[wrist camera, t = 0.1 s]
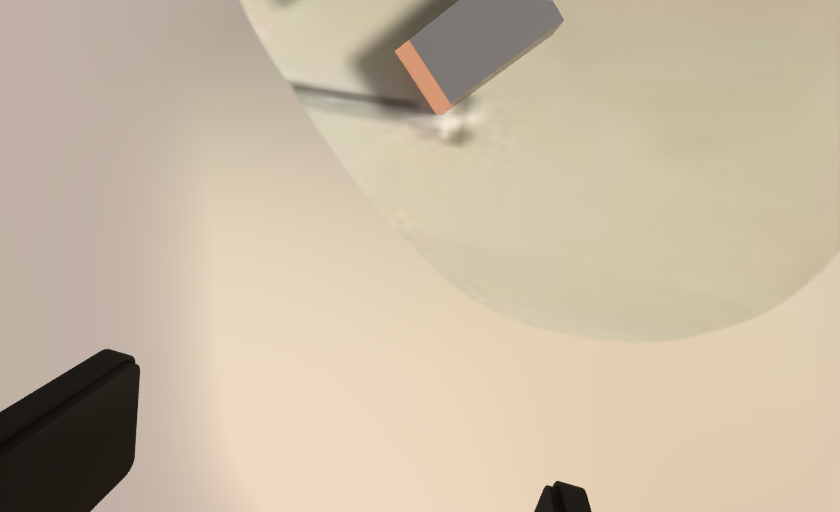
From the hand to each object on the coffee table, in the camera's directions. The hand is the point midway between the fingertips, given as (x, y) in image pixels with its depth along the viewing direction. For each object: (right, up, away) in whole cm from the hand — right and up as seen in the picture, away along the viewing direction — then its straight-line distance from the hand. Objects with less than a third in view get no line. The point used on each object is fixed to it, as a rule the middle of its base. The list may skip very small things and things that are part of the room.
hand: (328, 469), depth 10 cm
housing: (+6, +21, +26) cm, 34 cm away
